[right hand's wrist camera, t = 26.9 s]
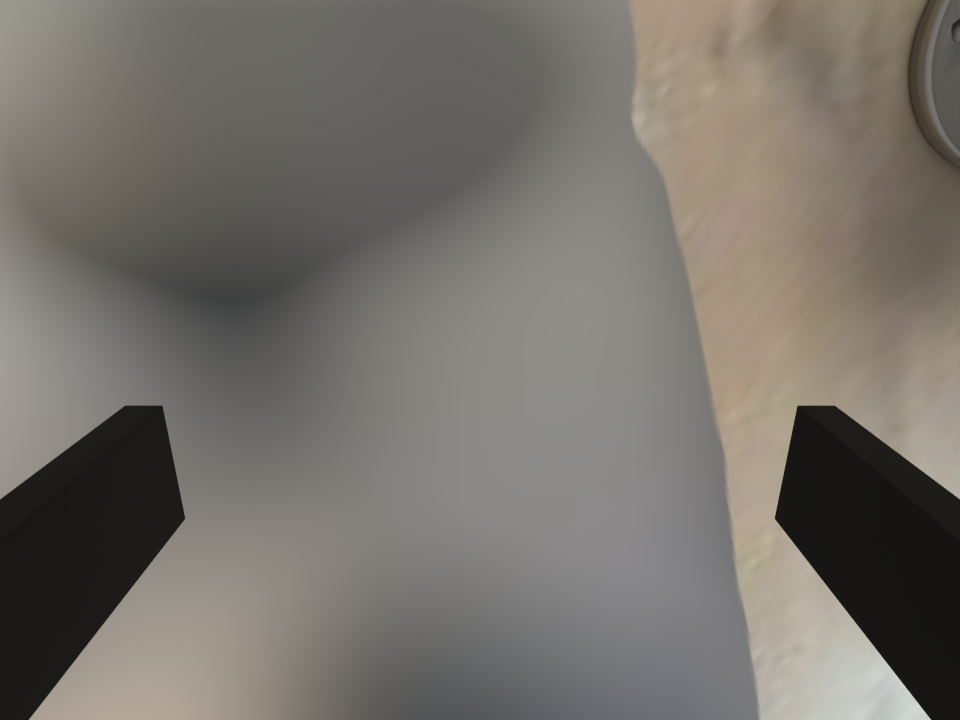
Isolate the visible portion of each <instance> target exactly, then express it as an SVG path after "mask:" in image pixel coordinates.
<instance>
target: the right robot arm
mask: <svg viewBox="0 0 960 720" xmlns="http://www.w3.org/2000/svg"><path fill="white" fill-rule="evenodd" d="M910 91H911V98H912V104H913V108H914V112H915V115H916V118H917V121H918V123H919V126H920V128H921V130H922V132H923V134H924V135H925V137H926V138H927V140H928V141H929V143H930V144H931V145H932V146H933V147H934V148H935V150H936V151H937V152H938V153H940V154H941V155H942V156H943V157H944V158H945V159H947V160H948V161H950V162H951V163H953V164H955V165H956V166H958V167H960V0H930V2H929V4H928V6H927V8H926V10H925V13H924V15H923V17H922V20H921V22H920V25H919V28H918V31H917V35H916V38H915V42H914V47H913V51H912V58H911V67H910ZM184 519H185V515H184V510H183V506H182V501H181V496H180V491H179V486H178V481H177V476H176V471H175V466H174V461H173V456H172V451H171V446H170V441H169V436H168V431H167V426H166V422H165V416H164V412H163V406H124V407H123V408H122V409H120V410H119V411H118V412H116V413H115V414H114V415H112V416H111V417H110V418H108V419H107V420H106V421H104V422H103V423H102V424H100V425H99V426H98V427H96V428H95V429H94V430H92V431H91V432H90V433H88V434H87V435H86V436H84V437H83V438H82V439H80V440H79V441H78V442H76V443H75V444H74V445H72V446H71V447H70V448H68V449H67V450H66V451H64V452H63V453H62V454H60V455H59V456H58V457H56V458H55V459H54V460H52V461H51V462H50V463H48V464H47V465H46V466H44V467H43V468H42V469H40V470H39V471H38V472H36V473H35V474H34V475H32V476H31V477H30V478H28V479H27V480H26V481H24V482H23V483H22V484H20V485H19V486H18V487H16V488H15V489H14V490H12V491H11V492H10V493H8V494H7V495H6V496H4V497H3V498H2V499H0V720H29V719H30V717H31V716H32V715H33V714H34V712H35V711H36V710H37V708H38V707H39V706H40V705H41V703H42V702H43V701H44V699H45V698H46V697H47V696H48V694H49V693H50V692H51V690H52V689H53V688H54V687H55V685H56V684H57V683H58V681H59V680H60V679H61V678H62V676H63V675H64V674H65V672H66V671H67V670H68V669H69V667H70V666H71V665H72V663H73V662H74V661H75V660H76V658H77V657H78V656H79V654H80V653H81V652H82V651H83V649H84V648H85V647H86V645H87V644H88V643H89V642H90V640H91V639H92V638H93V636H94V635H95V634H96V633H97V631H98V630H99V629H100V627H101V626H102V625H103V624H104V622H105V621H106V620H107V618H108V617H109V616H110V615H111V613H112V612H113V611H114V609H115V608H116V607H117V606H118V604H119V603H120V602H121V600H122V599H123V598H124V597H125V595H126V594H127V593H128V591H129V590H130V589H131V588H132V586H133V585H134V584H135V582H136V581H137V580H138V579H139V577H140V576H141V575H142V573H143V572H144V571H145V570H146V568H147V567H148V566H149V565H150V563H151V562H152V561H153V559H154V558H155V557H156V556H157V554H158V553H159V552H160V550H161V549H162V548H163V547H164V545H165V544H166V543H167V541H168V540H169V539H170V538H171V536H172V535H173V534H174V532H175V531H176V530H177V528H178V527H179V526H180V525H181V523H182V522H183V521H184ZM775 520H776V521H777V522H778V523H779V525H780V526H781V527H782V529H783V530H784V531H785V532H786V534H787V535H788V536H789V538H790V539H791V540H792V541H793V543H794V544H795V545H796V547H797V548H798V549H799V550H800V552H801V553H802V554H803V556H804V557H805V558H806V559H807V561H808V562H809V563H810V565H811V566H812V567H813V568H814V570H815V571H816V572H817V574H818V575H819V576H820V577H821V579H822V580H823V581H824V582H825V584H826V585H827V586H828V588H829V589H830V590H831V591H832V593H833V594H834V595H835V597H836V598H837V599H838V600H839V602H840V603H841V604H842V606H843V607H844V608H845V609H846V611H847V612H848V613H849V615H850V616H851V617H852V618H853V620H854V621H855V622H856V624H857V625H858V626H859V627H860V629H861V630H862V631H863V633H864V634H865V635H866V636H867V638H868V639H869V640H870V642H871V643H872V644H873V645H874V647H875V648H876V649H877V651H878V652H879V653H880V654H881V656H882V657H883V658H884V660H885V661H886V662H887V663H888V665H889V666H890V667H891V669H892V670H893V671H894V672H895V674H896V675H897V676H898V678H899V679H900V680H901V681H902V683H903V684H904V685H905V687H906V688H907V689H908V690H909V692H910V693H911V694H912V696H913V697H914V698H915V699H916V701H917V702H918V703H919V705H920V706H921V707H922V708H923V710H924V711H925V712H926V714H927V715H928V716H929V717H930V719H931V720H960V499H958V498H957V497H956V496H954V495H953V494H952V493H950V492H949V491H948V490H946V489H945V488H944V487H942V486H941V485H940V484H938V483H937V482H936V481H934V480H933V479H932V478H930V477H929V476H928V475H926V474H925V473H924V472H922V471H921V470H920V469H918V468H917V467H916V466H914V465H913V464H912V463H910V462H909V461H908V460H906V459H905V458H904V457H902V456H901V455H900V454H898V453H897V452H896V451H894V450H893V449H892V448H890V447H889V446H888V445H886V444H885V443H884V442H882V441H881V440H880V439H878V438H877V437H876V436H874V435H873V434H872V433H870V432H869V431H868V430H866V429H865V428H864V427H862V426H861V425H860V424H858V423H857V422H856V421H854V420H853V419H852V418H850V417H849V416H848V415H846V414H845V413H844V412H842V411H841V410H840V409H838V408H837V407H836V406H797V411H796V416H795V421H794V426H793V431H792V436H791V441H790V446H789V451H788V456H787V461H786V466H785V471H784V476H783V481H782V486H781V491H780V496H779V501H778V505H777V510H776V515H775Z"/></svg>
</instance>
